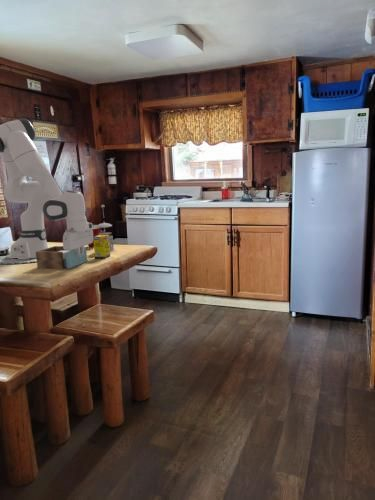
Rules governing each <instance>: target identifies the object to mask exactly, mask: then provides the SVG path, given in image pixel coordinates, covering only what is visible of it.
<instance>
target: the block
mask: <svg viewBox="0 0 375 500" xmlns="http://www.w3.org/2000/svg"><path fill="white" fill-rule="evenodd" d="M58 252H62V253H63V258H66V253H69V252H71V251H58Z"/></svg>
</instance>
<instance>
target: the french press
mask: <svg viewBox="0 0 375 500" xmlns="http://www.w3.org/2000/svg"><path fill="white" fill-rule="evenodd" d="M100 208H105V204H101V206H100ZM104 214H105V213H104V210H102V215H103V217H105V215H104ZM97 225H98V226H97V227H98V228H100V233H99V235H109V244H110V253H112V252H116V249H115V248H114V239H113V238H114V237H113V235H112V234H113V233H112V232H110V231H108V232H106V228H111V227H113V224H111V223H109V222H108V223H107V222H102V223H99V224H97ZM102 229H103V230H102Z"/></svg>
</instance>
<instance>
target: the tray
mask: <svg viewBox="0 0 375 500" xmlns="http://www.w3.org/2000/svg"><path fill="white" fill-rule="evenodd" d="M63 262H64V268H66V269H67V270H68V269H69V270H70V269H72V268H75V267H77V266H79V265H81V264H84V263H86V262H88V253H87V247H85V246H84V252H83V256H82V257H77V255H76V252H75V251H71V252H69V253H66V258H63Z"/></svg>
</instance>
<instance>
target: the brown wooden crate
mask: <svg viewBox="0 0 375 500" xmlns="http://www.w3.org/2000/svg"><path fill="white" fill-rule="evenodd" d="M58 251H65V250H64V249H63V245H55V246H50V247H48V248H47V249H44V250H40V251H37V252H36V258H35V259H36V266H37V269H54V270H55V269H56V270H57V269H58V270H63V269H65V267H64V262H63V253H62V252H58ZM71 251H74V250H71Z"/></svg>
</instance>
